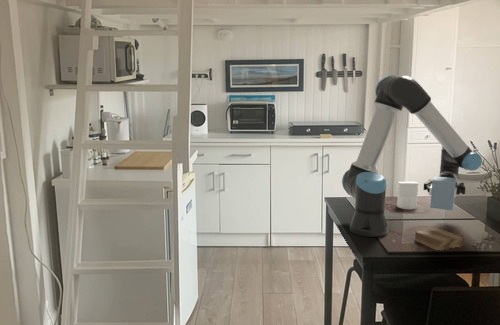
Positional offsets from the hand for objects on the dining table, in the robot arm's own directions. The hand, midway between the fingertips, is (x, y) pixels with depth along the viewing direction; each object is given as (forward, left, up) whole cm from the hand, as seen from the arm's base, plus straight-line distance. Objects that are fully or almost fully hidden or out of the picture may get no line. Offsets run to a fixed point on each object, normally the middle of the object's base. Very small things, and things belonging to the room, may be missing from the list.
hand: (442, 192), depth 186 cm
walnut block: (-3, -3, -19) cm, 20 cm away
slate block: (+4, +3, -7) cm, 8 cm away
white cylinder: (+21, +43, -19) cm, 52 cm away
